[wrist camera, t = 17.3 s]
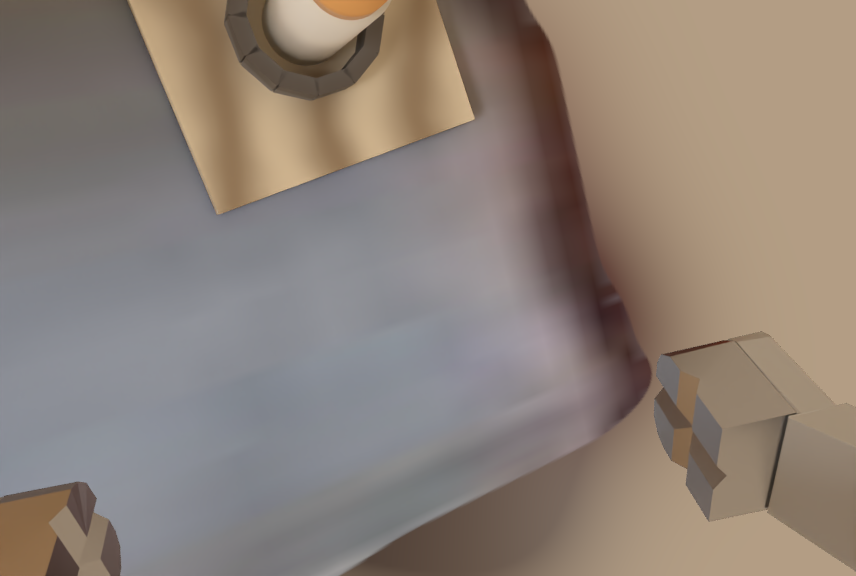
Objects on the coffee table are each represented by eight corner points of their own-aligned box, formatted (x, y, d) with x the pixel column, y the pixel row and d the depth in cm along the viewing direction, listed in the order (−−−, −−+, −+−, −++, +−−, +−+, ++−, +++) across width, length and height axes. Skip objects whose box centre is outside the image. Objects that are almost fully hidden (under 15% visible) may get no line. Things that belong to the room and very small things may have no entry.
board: (216, 214, 45) (222, 214, 42) (89, -89, 41) (86, -112, 38) (467, 121, 50) (488, 115, 47) (376, -154, 46) (392, -179, 43)
